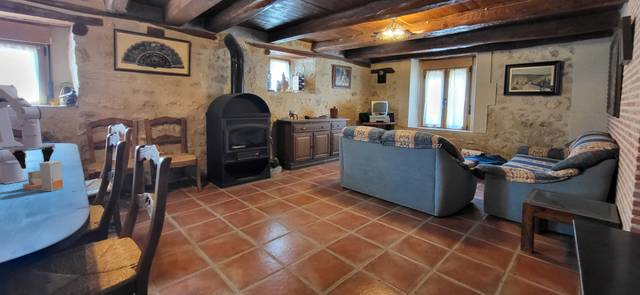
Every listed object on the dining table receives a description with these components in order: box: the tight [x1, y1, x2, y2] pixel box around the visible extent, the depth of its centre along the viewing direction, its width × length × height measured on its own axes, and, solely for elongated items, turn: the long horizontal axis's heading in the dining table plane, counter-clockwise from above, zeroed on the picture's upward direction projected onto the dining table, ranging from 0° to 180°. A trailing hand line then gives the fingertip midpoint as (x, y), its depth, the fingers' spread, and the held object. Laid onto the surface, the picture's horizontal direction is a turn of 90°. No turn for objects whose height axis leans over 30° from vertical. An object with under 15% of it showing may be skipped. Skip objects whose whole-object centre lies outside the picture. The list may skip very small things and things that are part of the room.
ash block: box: [27, 170, 42, 185], centre depth 129 cm, size 4×4×5 cm
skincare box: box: [39, 160, 65, 192], centre depth 127 cm, size 6×4×12 cm
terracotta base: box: [22, 182, 42, 192], centre depth 130 cm, size 7×7×2 cm
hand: (35, 166), depth 128 cm, fingers open, 7 cm apart
